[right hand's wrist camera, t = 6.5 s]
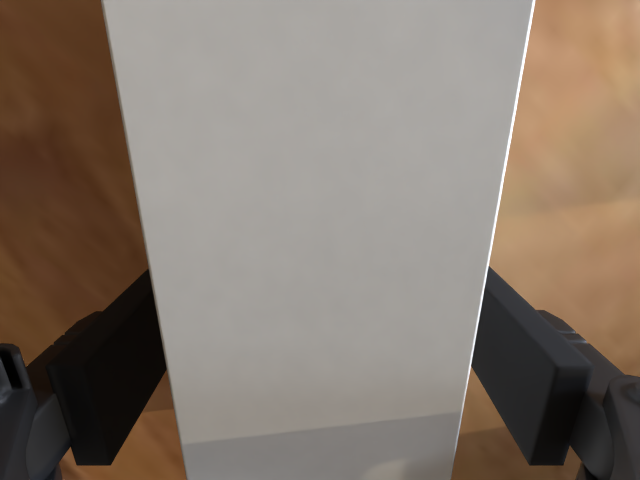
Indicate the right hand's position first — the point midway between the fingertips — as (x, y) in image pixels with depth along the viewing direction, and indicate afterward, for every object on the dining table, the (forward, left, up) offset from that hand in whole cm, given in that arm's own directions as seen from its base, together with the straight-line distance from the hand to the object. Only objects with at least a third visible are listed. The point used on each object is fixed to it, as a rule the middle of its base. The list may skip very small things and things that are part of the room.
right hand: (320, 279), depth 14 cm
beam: (-4, -33, -1) cm, 34 cm away
